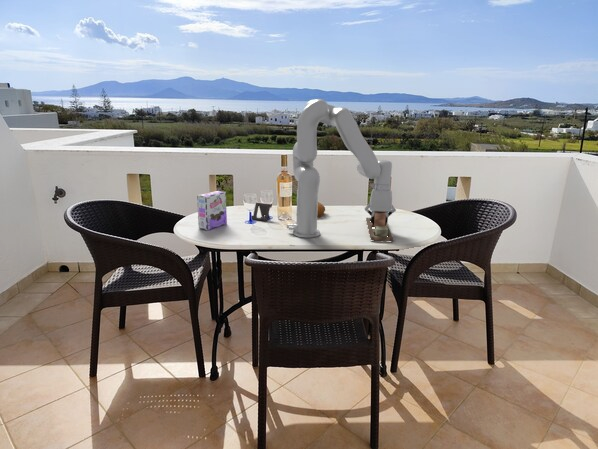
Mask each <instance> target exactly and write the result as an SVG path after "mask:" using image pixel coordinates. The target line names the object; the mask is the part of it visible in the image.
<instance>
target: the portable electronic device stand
mask: <svg viewBox="0 0 598 449" xmlns="http://www.w3.org/2000/svg"><path fill="white" fill-rule="evenodd" d="M272 204H273V203H269V202H262V201H261V202H260V201H256V202H255V205H254V210H253V215H251V219H250V220H253V221H254V220H255V221H262V222H268V220H269V219H270V214H269V213H270V209H271V208H272V207H273V205H272ZM258 211H260V215H261V217H258Z"/></svg>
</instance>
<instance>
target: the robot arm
mask: <svg viewBox="0 0 598 449" xmlns="http://www.w3.org/2000/svg"><path fill="white" fill-rule="evenodd" d="M319 123H322V124H326V125H329V126H332V127H336V130H337V132H338V134H339V135H340V138H341V140H342V142H343V143H344V146H345V148H346V149H347V150H348V151H349V152H350V153H351V154H353V156H354V157H355V158H356V159H357V161H358V163H357V165H356V166H357V167H356V170H357V172H358V174H359V175H361V176H362V177H365V178H367V179H369V180H373V183H372V184H370V188H372V190H371V193H370V198H369V203H368V204H367V205H366V206H365V207H364V211H365V212H366V213H368V214H369V215H370V218H371V223H372V225H374V218H375V217H374V214H375V212H385V213H386V219H385V226H386V223H387V224H388V223H389V217H390V216H391V215H392V214H394V213H395V212H396V211H397V209H396V207H394V205H393V191H392V189H391V179H392V170H393V169H392V168H393V165H392V164H393V163H392V161H390V160H386V159H385V160H384V159H382V160H381V159H379V160H378V158H377V155H375V153H374V151H373V149H372V148H371V146H370V145H369V144H368V142H367V141H366V139H365V138H364V136H363V134H362V132H361V130H360V128H359V126H358V124H357V122H356V120H355V118H354V116H353V114H352V112H351V111H350V110H349V109H348V108H346V107H339V106H334V105H331V104H328V102H327V101H326V100H324V99H323V98H317V99H310V100H309V101H307V102H306V103H305V105H304V109H303V110H302V111H301V113H300V115H299V117H298V120H297V123H296V124H297V125H296V142H295V144H294V145H293V148H292V163H293V164H292V165H293V167H292V168H293V176H294V178H295V180H296V181H297V190H296V222H295V223H294V224H291V223H290V224H289V223H287V224H286V228H287V229H288V230H293V231H292V234H293V235H294V236H296V237H298V238H303V239H305V238H306V239H307V238H308V239H309V238H311V239H312V238H316V237H319V236H320V235H321V231H320V230H319V229H318V218H317V211H318V202H319V187H320V181H321V179H320V177H321V176H320V173H319V171H318V170H317V169H316V168H315V167H314V161H315V160H316V159H317V156H318V143H317V142H318V139H317V132H318V131H317V130H318V126H319Z"/></svg>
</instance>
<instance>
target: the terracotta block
mask: <svg viewBox="0 0 598 449" xmlns="http://www.w3.org/2000/svg"><path fill="white" fill-rule="evenodd" d="M374 217H375V218H374V227H376V226H383V227H385V219H386V213H385V212H375V214H374Z"/></svg>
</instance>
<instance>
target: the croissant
mask: <svg viewBox="0 0 598 449" xmlns="http://www.w3.org/2000/svg"><path fill="white" fill-rule="evenodd" d="M325 212H326V207H325V205H324V204H322V203H320V202H319V201H318V211H317V217H319V218H321V217H322V216H323V215H325V214H324V213H325Z"/></svg>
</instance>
